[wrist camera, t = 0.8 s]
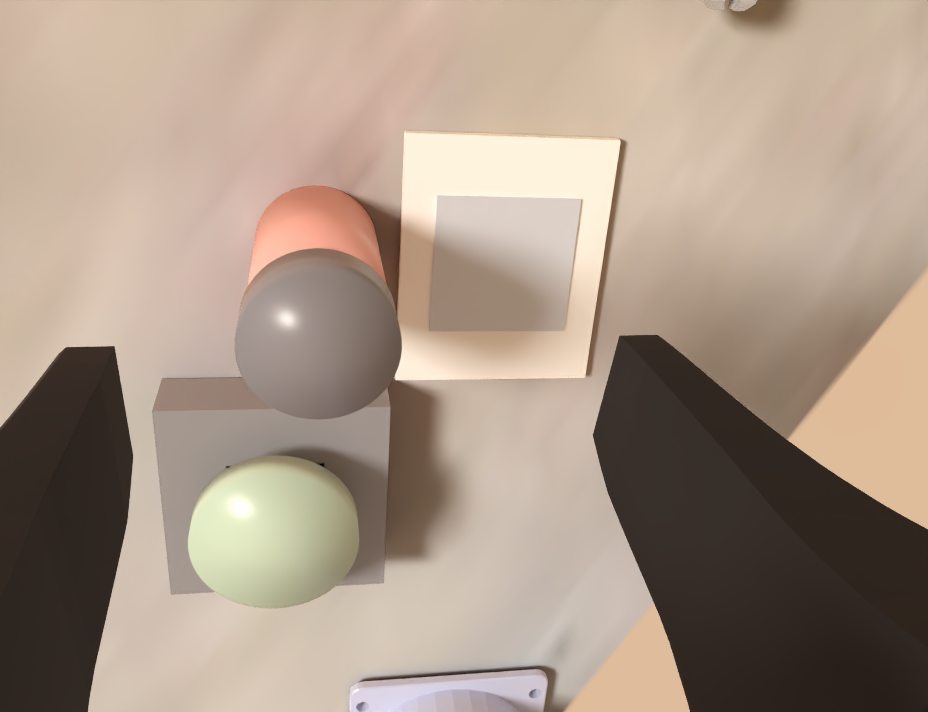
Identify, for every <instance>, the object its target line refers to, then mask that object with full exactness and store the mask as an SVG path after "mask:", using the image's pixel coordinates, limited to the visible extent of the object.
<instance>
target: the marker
mask: <svg viewBox="0 0 928 712" xmlns="http://www.w3.org/2000/svg"><path fill="white" fill-rule="evenodd" d="M401 352H402V338H401V332H400V327H399V322H398V318H397V313H396V308H395V304H394V301H393V298H392V295H391V292H390V290H389V288H388V286H387V285H386V280H385V276H384V271H383V266H382V261H381V256H380V251H379V247H378V242H377V237H376V232H375V228H374V225H373V223H372V221H371V219H370V217H369V215H368V214H367V212H366V211H365V209H364V208H363V207H362V206H361V205H360V204H359V203H358V202H357V201H356V200H355V199H353V198H352V197H350V196H349V195H347V194H345V193H343V192H341V191H339V190H336V189H333V188H329V187H325V186H306V187H300V188H297V189H293V190H291V191H289V192H286V193H284V194H283V195H281V196H280V197H278V198H277V199H276V200H274V201H273V202H272V203H271V204H270V205H269V206H268V208H267V209H266V210H265V212H264V213H263V215H262V217H261V219H260V221H259V223H258V226H257V230H256V236H255V242H254V249H253V255H252V262H251V268H250V275H249V281H248V287H247V289H246V291H245V293H244V296H243V299H242V302H241V306H240V312H239V318H238V324H237V330H236V336H235V355H236V361H237V365H238V368H239V371H240V373H241V375H242V377H243V379H244V381H245V382H246V384H247V385H248V387H249V388H250V389H251V390H252V391H253V393H254V394H255V395H256V396H257V397H259V398H260V399H261V400H262V401H263V402H265V403H266V404H268V405H269V406H270V407H272V408H274V409H276V410H278V411H280V412H282V413H285V414H288V415H291V416H294V417H298V418H304V419H316V420H322V419H332V418H338V417H342V416H345V415H348V414H351V413H354V412H356V411H358V410H360V409H362V408H364V407H365V406H367V405H369V404H370V403H371V402H373V401H374V400H375V399H377V398H378V397H379V396H380V395H381V394H382V393H383V392H384V391H385V389H386V388H387V387H388V386H389V384H390V383H391V381H392V379H393V378H394V376H395V374H396V371H397V369H398V367H399V363H400V359H401Z"/></svg>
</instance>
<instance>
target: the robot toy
mask: <svg viewBox="0 0 928 712" xmlns="http://www.w3.org/2000/svg"><path fill="white" fill-rule="evenodd" d="M701 1H702V2H703V3H704V4H705V5H706V6H707V8H711V9H717V10H724V3H725V0H701ZM756 2H757V0H730V3H729V6H728V8H729V9H732V10H733V11H745V10H747V9H748V8H750V7H751V6H753V5H755V4H756Z"/></svg>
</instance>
